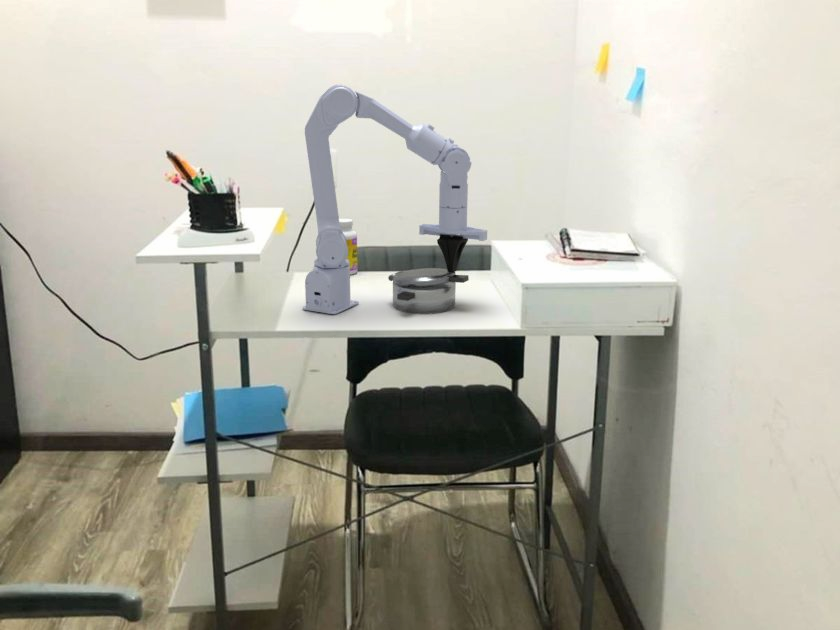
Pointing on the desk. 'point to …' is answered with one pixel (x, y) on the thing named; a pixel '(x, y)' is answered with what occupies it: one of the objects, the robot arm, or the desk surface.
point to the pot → (424, 298)
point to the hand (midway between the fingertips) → (452, 271)
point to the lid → (426, 277)
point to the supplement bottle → (350, 243)
